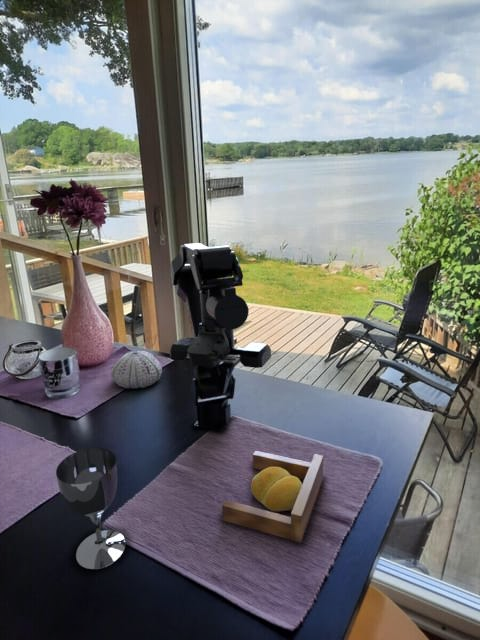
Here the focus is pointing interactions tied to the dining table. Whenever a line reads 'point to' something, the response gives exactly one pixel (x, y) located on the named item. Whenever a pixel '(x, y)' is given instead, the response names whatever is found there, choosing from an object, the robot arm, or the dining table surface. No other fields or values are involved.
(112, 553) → the wine glass
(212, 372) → the robot arm
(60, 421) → the dining table surface
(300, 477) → the open wooden frame
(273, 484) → the bread roll
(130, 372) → the sea urchin shell
